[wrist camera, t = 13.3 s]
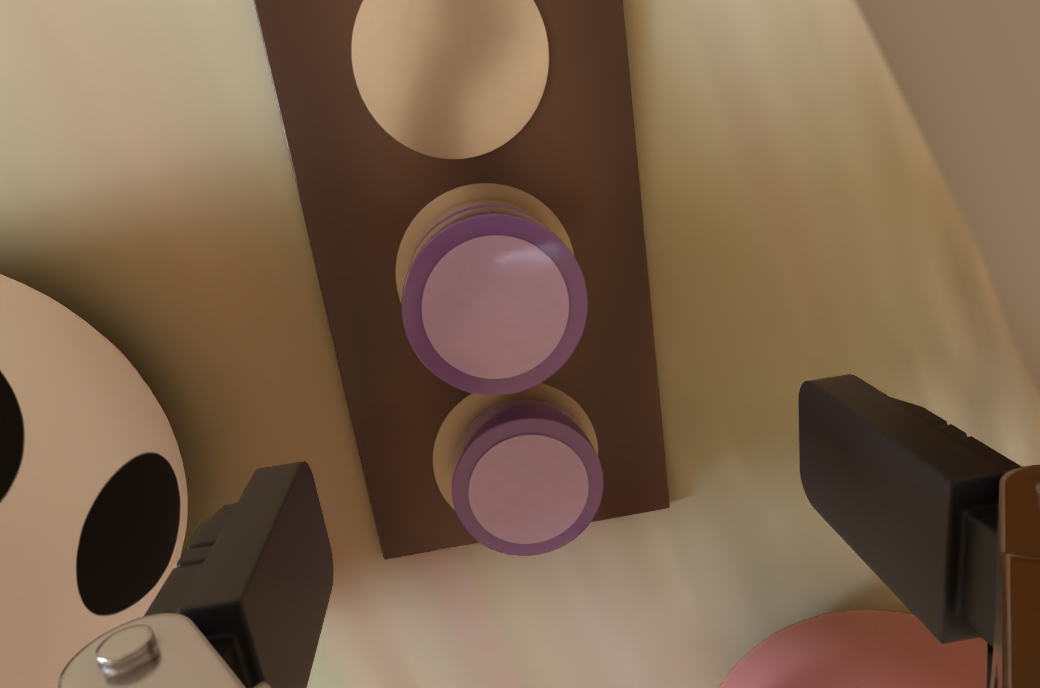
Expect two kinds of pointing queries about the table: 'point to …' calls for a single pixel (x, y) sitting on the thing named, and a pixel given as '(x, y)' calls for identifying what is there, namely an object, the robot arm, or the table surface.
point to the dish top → (525, 477)
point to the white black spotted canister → (77, 488)
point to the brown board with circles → (452, 181)
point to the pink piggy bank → (860, 655)
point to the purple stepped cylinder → (493, 301)
